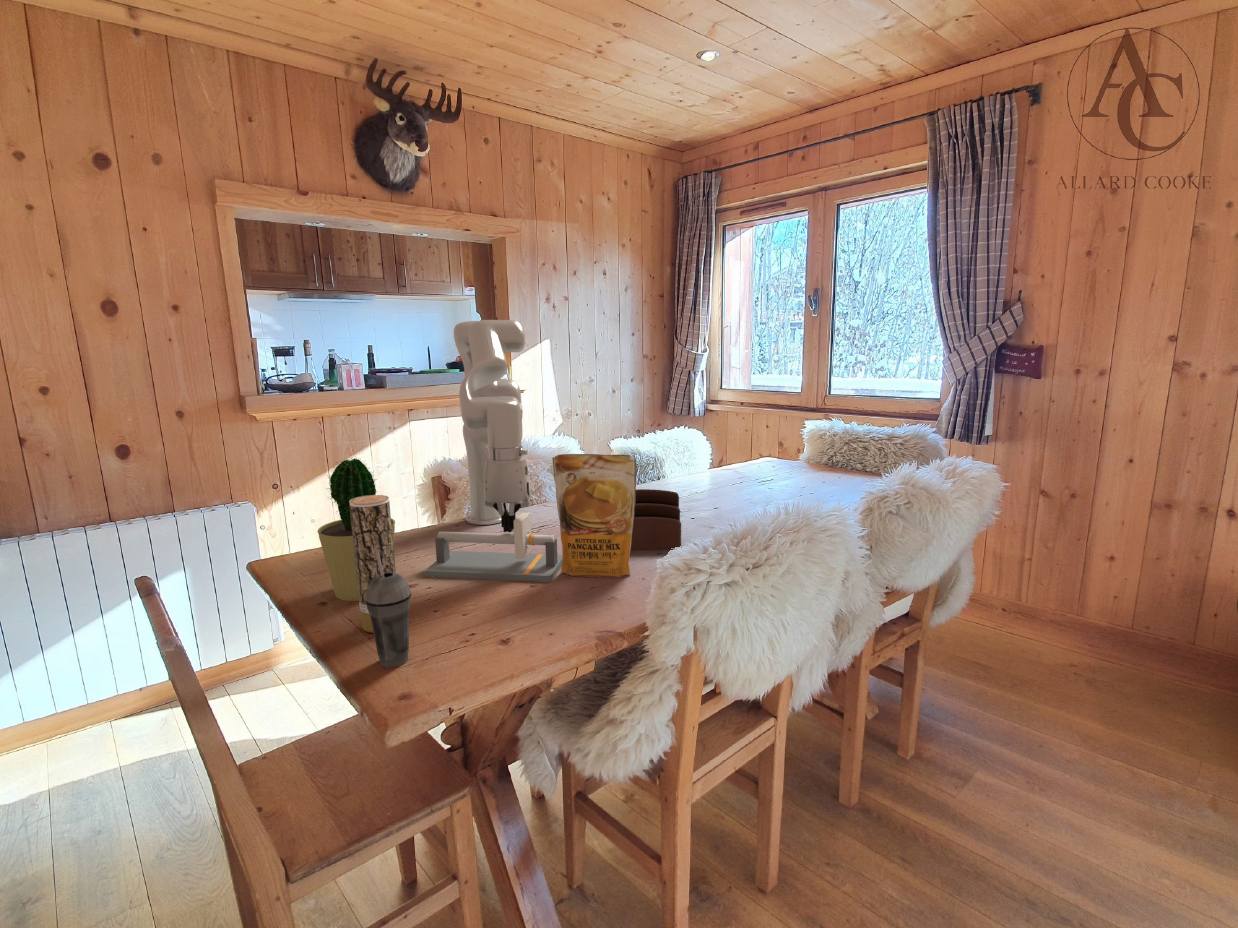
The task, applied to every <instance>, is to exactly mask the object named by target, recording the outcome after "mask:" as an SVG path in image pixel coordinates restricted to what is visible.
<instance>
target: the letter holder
mask: <svg viewBox="0 0 1238 928" xmlns="http://www.w3.org/2000/svg"><path fill="white" fill-rule="evenodd" d="M680 546H681V547H682V521H681V509H680V496H679V493H678V492H676V491H673V490H666V489H665V490H663V489H662V490H661V489H650V488H648V489H647V488H646V489H643V488H642V489H637V488H636V502H635V508H634V520H633V529H632V539H631V549H630V550H672V549H671V548H675V547H680Z"/></svg>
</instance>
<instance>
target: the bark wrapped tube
mask: <svg viewBox="0 0 1238 928" xmlns="http://www.w3.org/2000/svg"><path fill="white" fill-rule="evenodd" d="M389 498H390V497H389V496H388V495H382V494H376V495H369V496H362V497H357V498H354V499H351V500H350V501H349V502H350V504H349V505H350V515H351V525H352V535H353V545H354V555H355V565H356V575H357V585H358V594H359V601H358V602H359V603H358V604H359V612H360V619H361V627H362V629H363V630H364V632H366V633H373V627H372V622H371V617H370V613H369V612H368V609H367V604H366V603H365V600H366V592H367V588H368V586H369V584H370V583H371V581H372V580H373V579H374V578H375V577H377V576H378V575H380V569H379V565H378V560H377V556H376V550H379V555H380V559H381V564H382V568H383V573H395V574H397V573H396V563H395V562H396V561H395V549H394V546H393V537H392V526H391V519H392V517H391V507H390V499H389ZM373 634H374V633H373Z"/></svg>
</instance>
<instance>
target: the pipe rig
mask: <svg viewBox="0 0 1238 928" xmlns="http://www.w3.org/2000/svg"><path fill="white" fill-rule="evenodd" d="M450 543H463V544H464V543H465V544H467V543H468V544H469V543H470V544H491V545H493V544H497V545H498V544H499V545H515V541H514V533H491V532H462V531H459V532H458V531H439V532H438V533H437V537H435V538H434V544H435V556H436V557H435V558H436V559H435V560H436V561H435V562H433V563H432V564H431V565H429V567H427V568H426V569H425V570H424V577H425V578H441V579H442V578H444V579H445V578H446V579H465V580H466V579H467V580H468V579H469V580H490V581H492V580H493V581H511V582H512V581H515V582H534V583H535V582H539V583H552V582H553V580H554V579H555V577H556V576H557V574H558V572H559V571H560V570H561V567H562V554H558V539H557V538H555V535H553V534H535V533H531V534H530V535H529V534H526V535H525V543H526V545H532V546H545V553H528V554H527V555H526V557H525V558H524V559H515V552H499V551H498V552H491V551H467V550H466V551H465V550H464V551H463V550H450V545H449V544H450Z"/></svg>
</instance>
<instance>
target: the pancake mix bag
mask: <svg viewBox="0 0 1238 928" xmlns="http://www.w3.org/2000/svg"><path fill="white" fill-rule="evenodd" d="M551 459H552V468H553V480H554V485H555V486H554V487H555V498H556V499H555V501H556V507H557V515H558V519H559V529H560V531H559V532H560V541H561V549H562V554H561V555H562V566H561V568H560V573H562V574H564V573H565V574H567V575H568V576H570V577H582V578H583V577H584V578H607V579H608V578H609V579H610V578H611V579H614V578H615V579H616V578H617V579H619V578H620V579H621V578H622V577H623V576H628V575H629V576H630V575H631V569H630V565H629V561H630V556H631V555H630V554H631V550H632V549H631V539H632V529H633V520H634V508H635V502H636V490H637V488H636V487H637V473H638V472H637V471H638V469H637V468H638V467H637V461H636V458H631V455H629V454H597V453H564V454H557V455H555V456H553V457H552V458H551Z"/></svg>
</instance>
